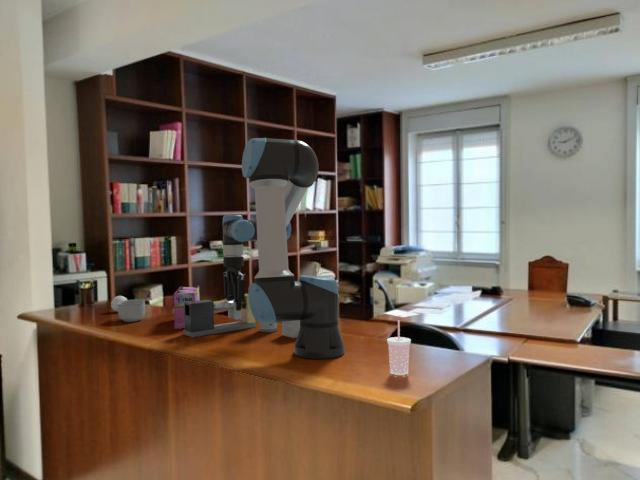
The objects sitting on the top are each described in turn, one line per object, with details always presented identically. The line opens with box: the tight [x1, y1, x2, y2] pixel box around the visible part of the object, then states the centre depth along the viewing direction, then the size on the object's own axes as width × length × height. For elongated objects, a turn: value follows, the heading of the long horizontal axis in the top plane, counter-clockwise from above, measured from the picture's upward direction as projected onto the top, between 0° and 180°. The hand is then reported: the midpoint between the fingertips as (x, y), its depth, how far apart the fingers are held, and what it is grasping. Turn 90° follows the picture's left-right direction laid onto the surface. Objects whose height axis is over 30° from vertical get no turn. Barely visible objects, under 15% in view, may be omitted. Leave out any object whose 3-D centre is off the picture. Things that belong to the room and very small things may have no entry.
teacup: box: [117, 298, 146, 323], centre depth 212 cm, size 14×11×8 cm
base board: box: [183, 321, 257, 338], centre depth 189 cm, size 26×7×2 cm, turn 129°
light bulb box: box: [281, 320, 300, 339], centre depth 181 cm, size 11×7×11 cm, turn 135°
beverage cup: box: [386, 319, 412, 375], centre depth 133 cm, size 6×6×14 cm
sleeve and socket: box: [184, 293, 256, 332], centre depth 189 cm, size 26×6×10 cm, turn 129°
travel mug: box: [259, 323, 278, 334], centre depth 187 cm, size 6×7×20 cm
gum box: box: [173, 285, 201, 330], centre depth 205 cm, size 24×8×14 cm, turn 8°
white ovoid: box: [110, 295, 128, 313], centre depth 230 cm, size 10×7×7 cm
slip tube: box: [214, 299, 246, 312], centre depth 191 cm, size 17×3×3 cm, turn 129°
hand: (234, 318), depth 193 cm, fingers open, 4 cm apart
